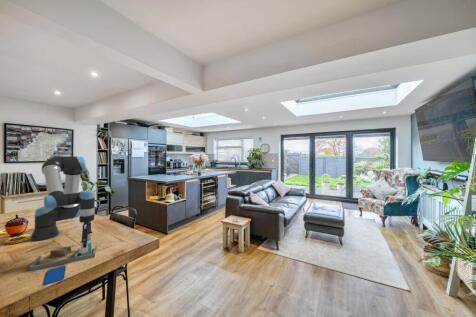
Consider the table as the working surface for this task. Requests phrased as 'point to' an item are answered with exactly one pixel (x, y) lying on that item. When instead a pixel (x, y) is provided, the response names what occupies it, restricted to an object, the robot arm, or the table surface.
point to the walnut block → (60, 252)
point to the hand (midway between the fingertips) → (86, 248)
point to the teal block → (88, 248)
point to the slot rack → (76, 258)
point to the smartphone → (54, 275)
